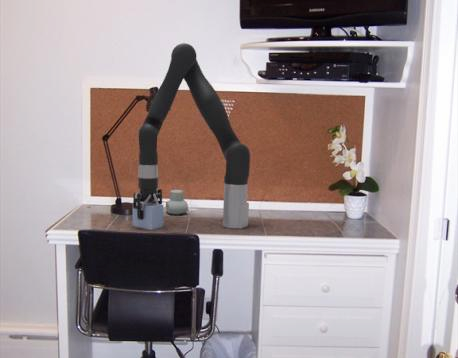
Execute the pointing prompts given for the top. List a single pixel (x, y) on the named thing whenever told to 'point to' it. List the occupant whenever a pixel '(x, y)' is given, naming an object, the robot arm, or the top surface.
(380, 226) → the top surface
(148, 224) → the blue-grey block
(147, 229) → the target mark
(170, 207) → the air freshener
